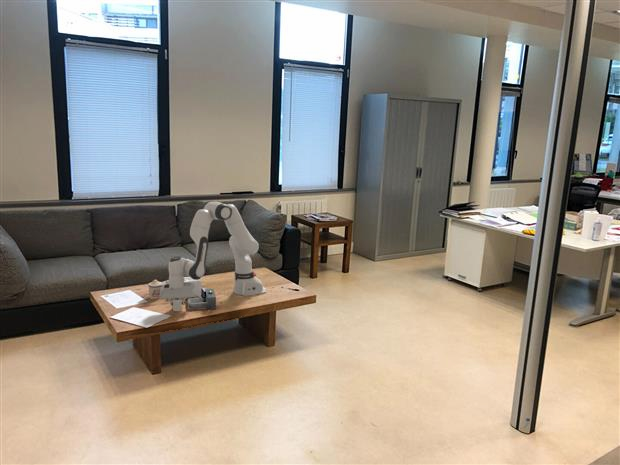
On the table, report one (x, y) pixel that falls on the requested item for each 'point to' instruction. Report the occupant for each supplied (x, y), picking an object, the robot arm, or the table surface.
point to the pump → (177, 304)
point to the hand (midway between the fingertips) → (177, 304)
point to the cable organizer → (196, 286)
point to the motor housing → (199, 304)
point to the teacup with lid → (154, 289)
